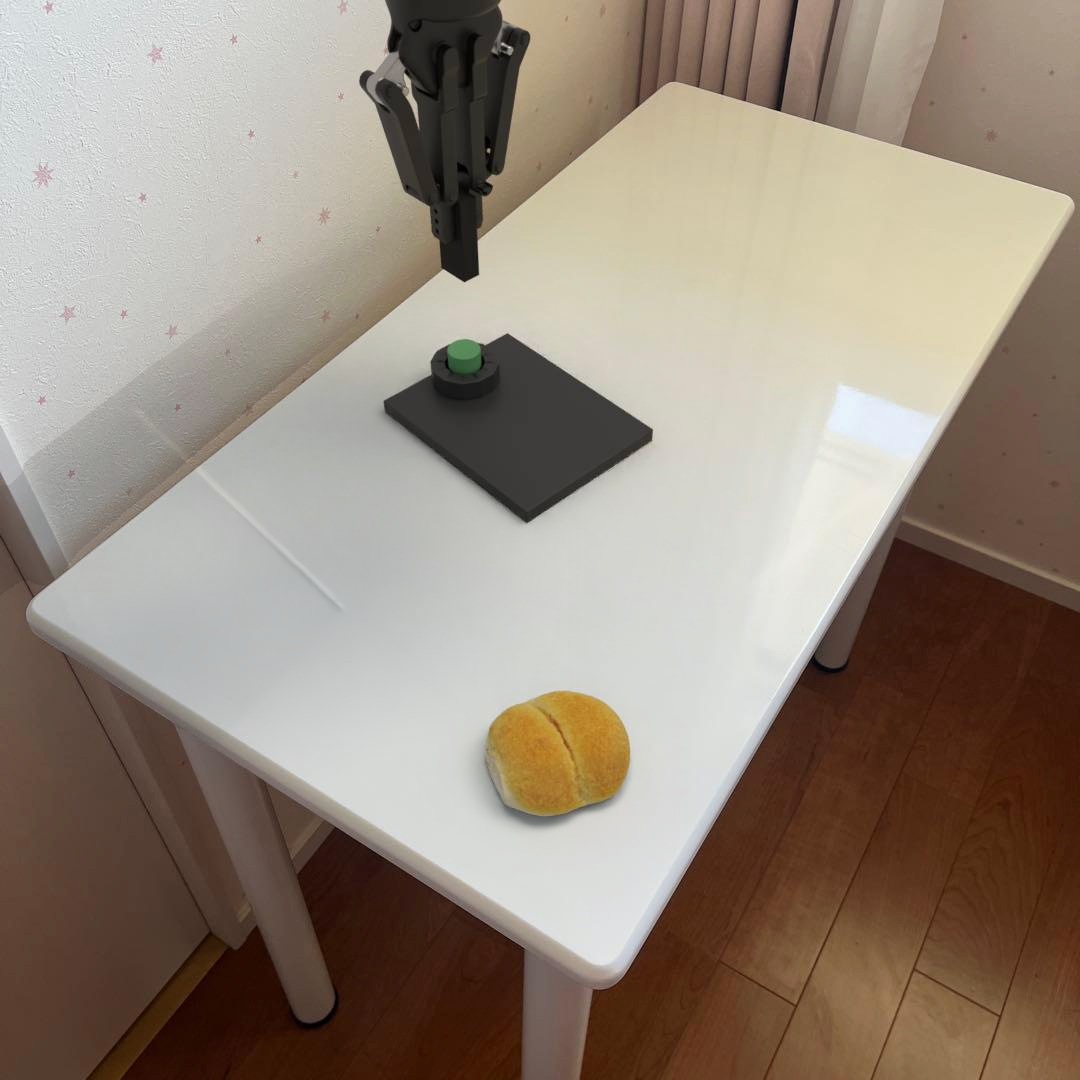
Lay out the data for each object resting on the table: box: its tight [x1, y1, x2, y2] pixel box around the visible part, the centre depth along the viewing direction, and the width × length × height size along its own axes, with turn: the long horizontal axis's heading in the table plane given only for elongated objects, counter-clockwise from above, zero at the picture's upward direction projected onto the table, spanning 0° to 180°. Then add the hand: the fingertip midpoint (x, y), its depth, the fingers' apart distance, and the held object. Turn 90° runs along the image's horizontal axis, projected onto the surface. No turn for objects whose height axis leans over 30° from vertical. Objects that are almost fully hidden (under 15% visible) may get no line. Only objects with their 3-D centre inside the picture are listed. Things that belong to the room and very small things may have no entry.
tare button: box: [447, 338, 481, 375], centre depth 93 cm, size 3×3×2 cm
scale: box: [383, 332, 654, 523], centre depth 91 cm, size 18×14×3 cm
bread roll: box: [483, 690, 631, 817], centre depth 69 cm, size 8×9×4 cm
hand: (460, 271), depth 84 cm, fingers closed
